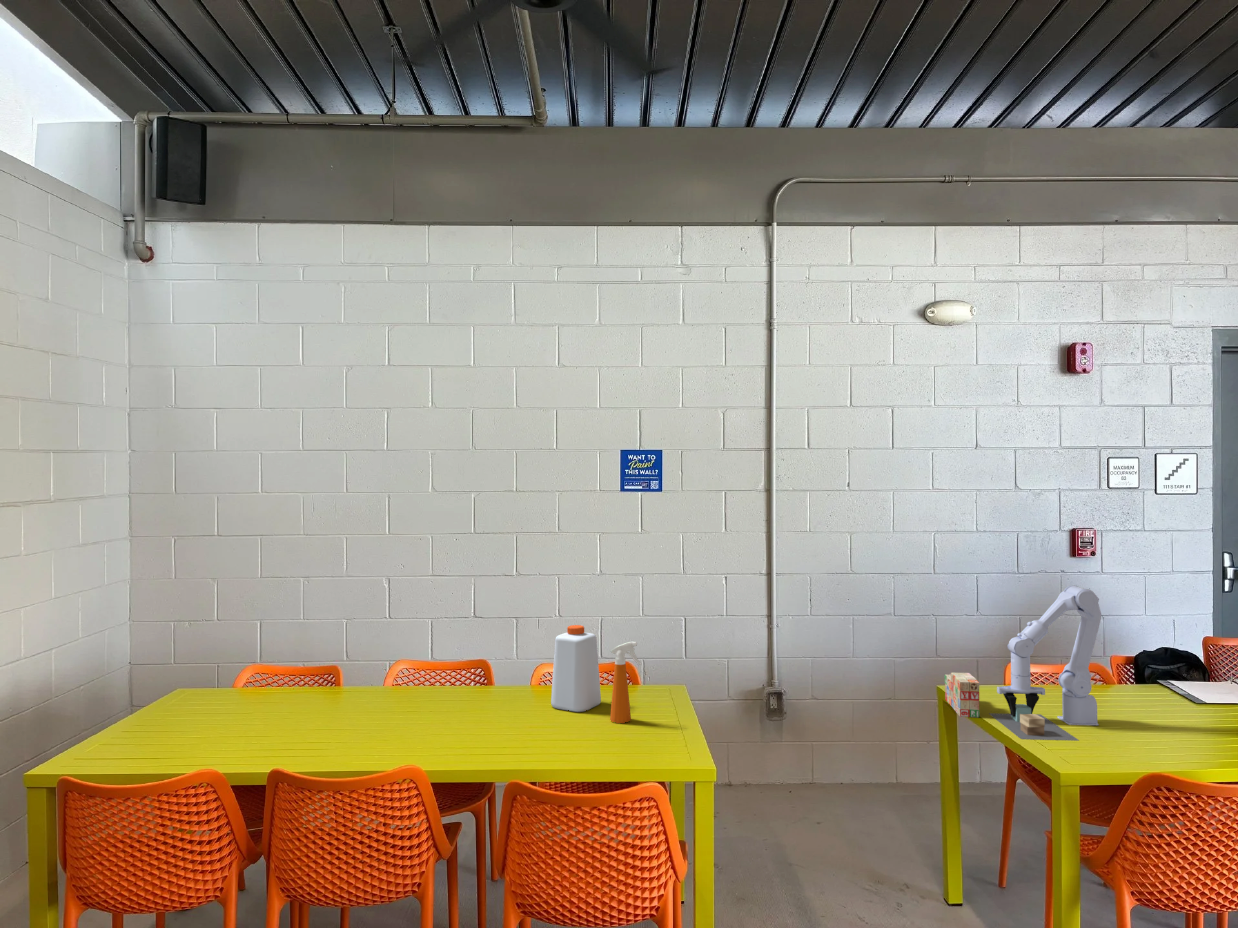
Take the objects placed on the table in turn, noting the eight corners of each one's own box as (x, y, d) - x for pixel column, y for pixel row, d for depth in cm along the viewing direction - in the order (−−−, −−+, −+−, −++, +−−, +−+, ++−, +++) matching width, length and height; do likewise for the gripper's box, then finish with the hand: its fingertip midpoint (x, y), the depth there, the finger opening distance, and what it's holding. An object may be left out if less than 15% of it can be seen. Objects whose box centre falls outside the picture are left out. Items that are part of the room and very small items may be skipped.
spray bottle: (640, 724, 255) (639, 644, 256) (607, 722, 258) (607, 642, 258) (643, 718, 262) (643, 639, 263) (612, 716, 265) (612, 638, 265)
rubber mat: (1040, 715, 263) (1040, 714, 263) (1079, 741, 237) (1079, 740, 237) (988, 714, 265) (988, 713, 265) (1021, 739, 239) (1021, 738, 239)
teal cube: (1025, 717, 260) (1025, 704, 260) (1031, 721, 255) (1031, 708, 255) (1011, 717, 260) (1011, 703, 260) (1017, 721, 256) (1016, 707, 256)
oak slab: (1035, 721, 248) (1035, 713, 248) (1044, 726, 243) (1044, 718, 243) (1019, 722, 247) (1019, 714, 247) (1029, 727, 242) (1028, 719, 242)
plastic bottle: (582, 714, 267) (582, 632, 268) (546, 707, 275) (546, 628, 275) (605, 702, 280) (605, 624, 281) (570, 697, 288) (569, 621, 288)
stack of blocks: (944, 699, 282) (944, 665, 283) (963, 700, 281) (962, 666, 282) (960, 718, 261) (959, 681, 262) (980, 718, 260) (979, 681, 260)
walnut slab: (1037, 730, 247) (1036, 722, 247) (1044, 735, 242) (1044, 727, 242) (1020, 729, 248) (1020, 721, 248) (1027, 734, 243) (1027, 726, 243)
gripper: (1038, 671, 261) (1038, 712, 261) (993, 670, 263) (993, 711, 262) (1047, 677, 254) (1048, 719, 254) (1001, 676, 256) (1002, 718, 255)
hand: (1021, 715), depth 258 cm, fingers closed on teal cube, 4 cm apart
